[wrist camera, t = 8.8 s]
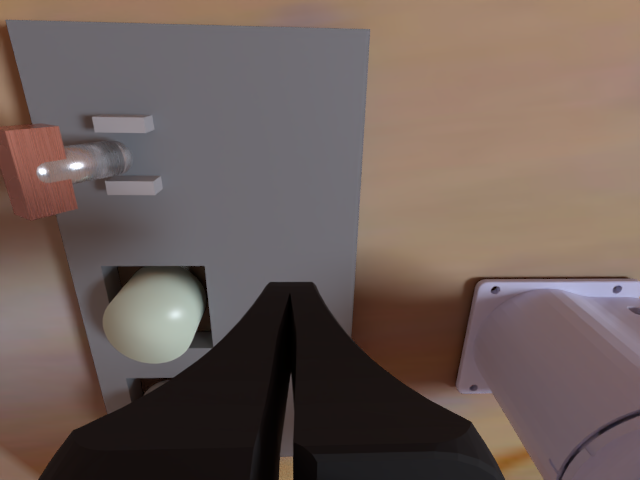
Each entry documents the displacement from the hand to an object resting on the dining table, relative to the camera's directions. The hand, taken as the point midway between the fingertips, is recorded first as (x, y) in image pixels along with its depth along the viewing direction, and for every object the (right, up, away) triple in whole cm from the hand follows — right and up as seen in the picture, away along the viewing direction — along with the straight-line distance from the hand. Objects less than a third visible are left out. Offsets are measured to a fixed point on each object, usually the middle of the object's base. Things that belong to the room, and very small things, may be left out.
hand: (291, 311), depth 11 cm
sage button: (-7, -1, +10) cm, 12 cm away
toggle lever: (-7, +6, +5) cm, 11 cm away
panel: (-4, 0, +10) cm, 11 cm away
